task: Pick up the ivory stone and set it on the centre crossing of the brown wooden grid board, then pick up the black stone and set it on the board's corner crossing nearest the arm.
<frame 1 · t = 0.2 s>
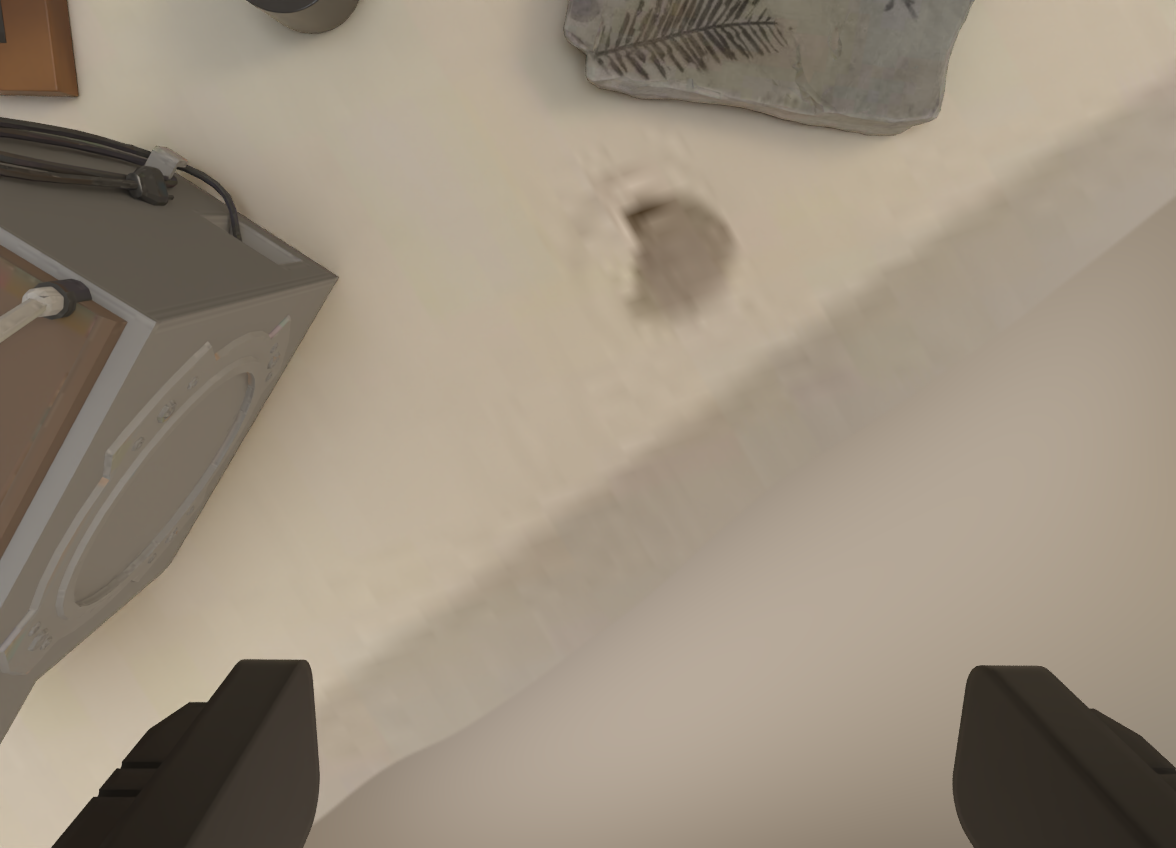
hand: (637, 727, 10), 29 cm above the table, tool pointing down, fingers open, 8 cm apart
portable television: (142, 415, 39), on the table
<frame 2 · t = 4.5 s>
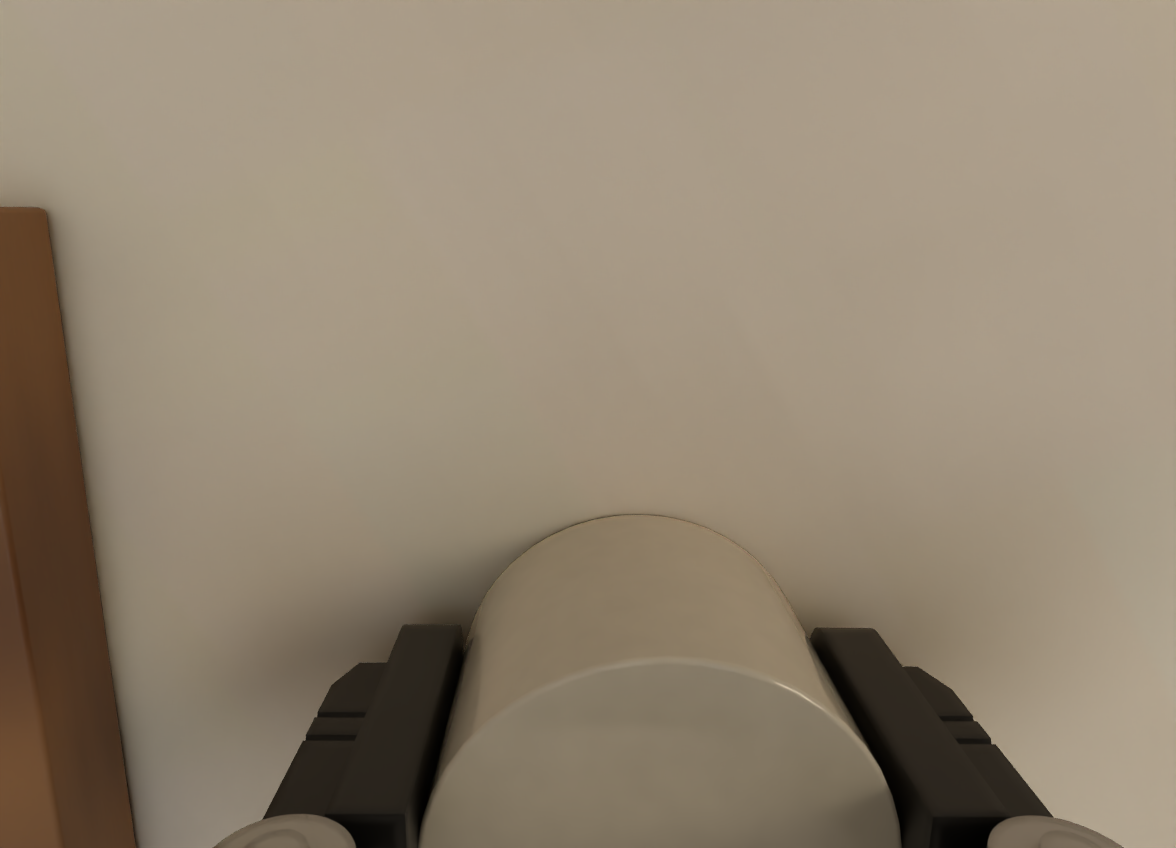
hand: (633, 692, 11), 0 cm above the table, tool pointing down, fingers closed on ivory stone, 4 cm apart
ivory stone: (633, 671, 11), on the table, touching gripper
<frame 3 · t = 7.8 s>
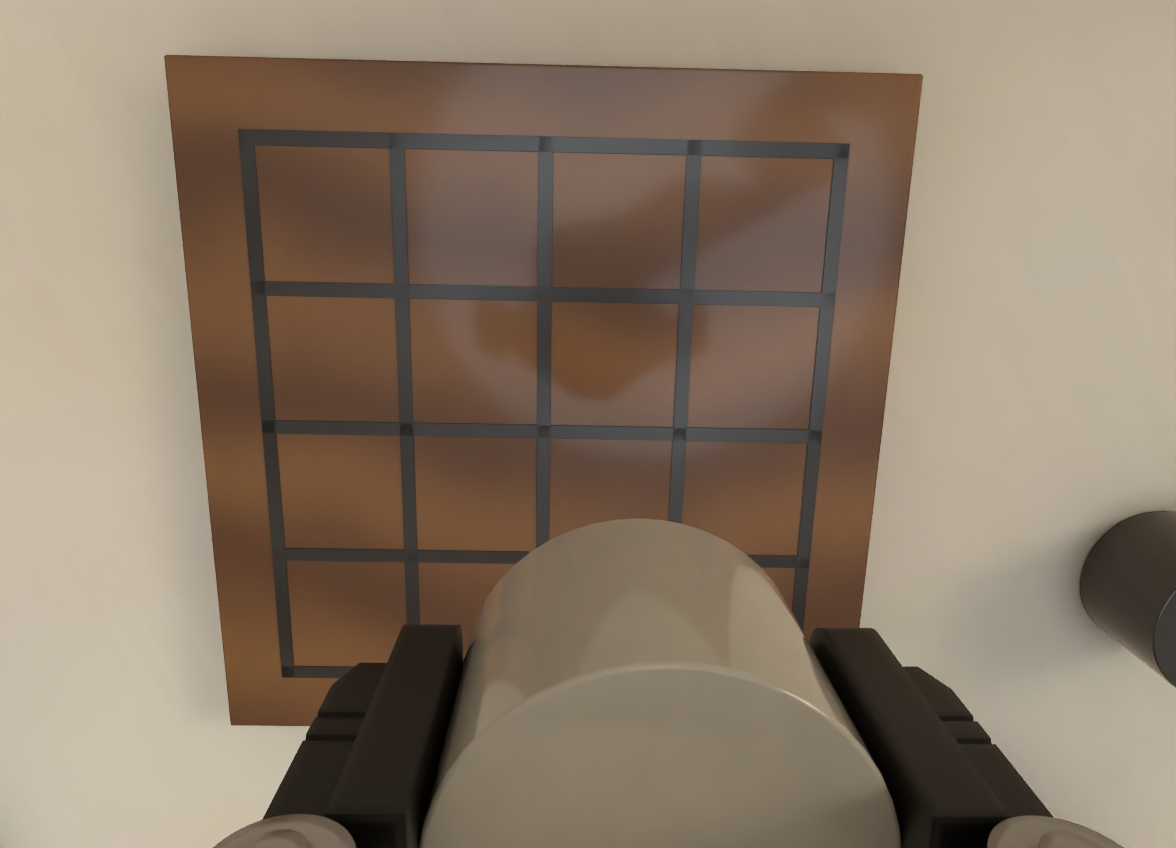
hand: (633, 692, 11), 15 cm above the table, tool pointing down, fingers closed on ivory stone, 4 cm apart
board: (545, 418, 26), on the table
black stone: (1149, 576, 27), on the table
ivory stone: (633, 675, 11), point 15 cm above the table, touching gripper
when the fingers open (2 cm above the table, at t = 11.2 s): ivory stone stays where it is, resting on board.
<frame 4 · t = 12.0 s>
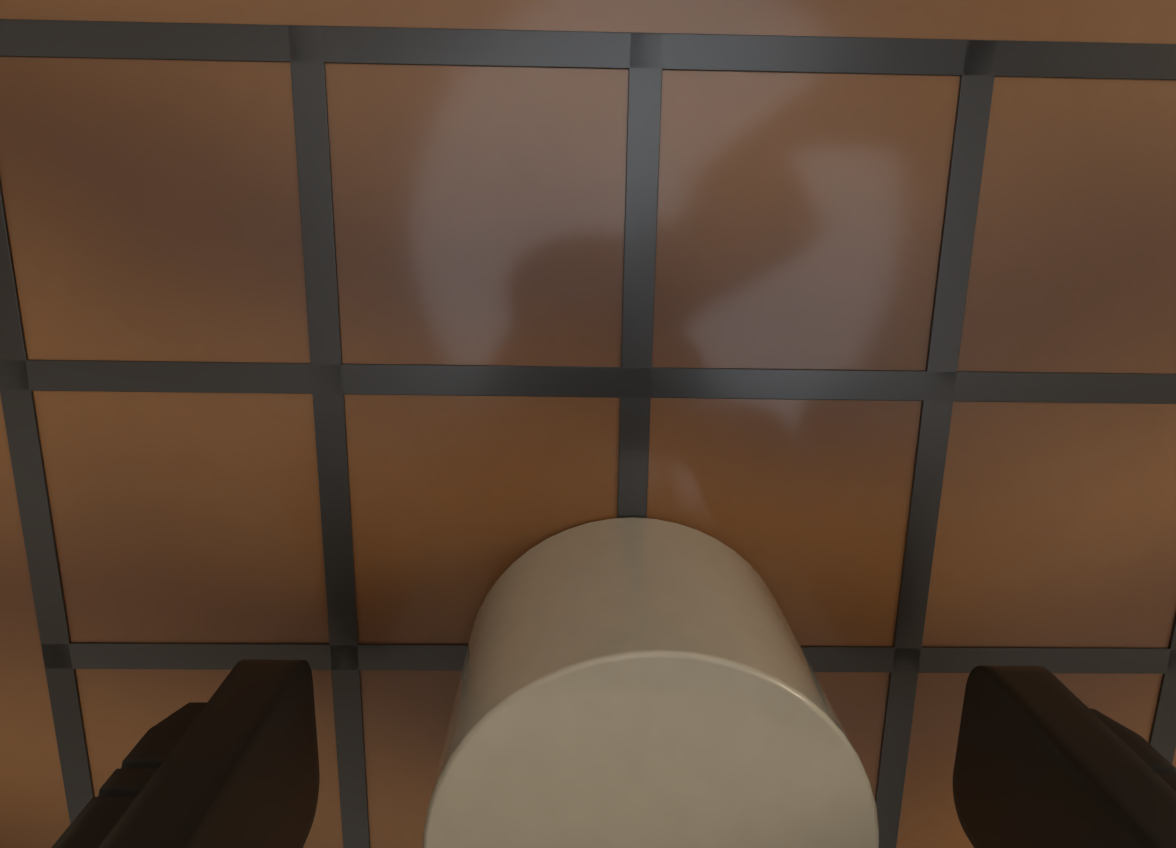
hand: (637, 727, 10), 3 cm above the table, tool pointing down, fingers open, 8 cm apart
board: (621, 608, 13), on the table
ivory stone: (628, 667, 12), point 2 cm above the table, touching board
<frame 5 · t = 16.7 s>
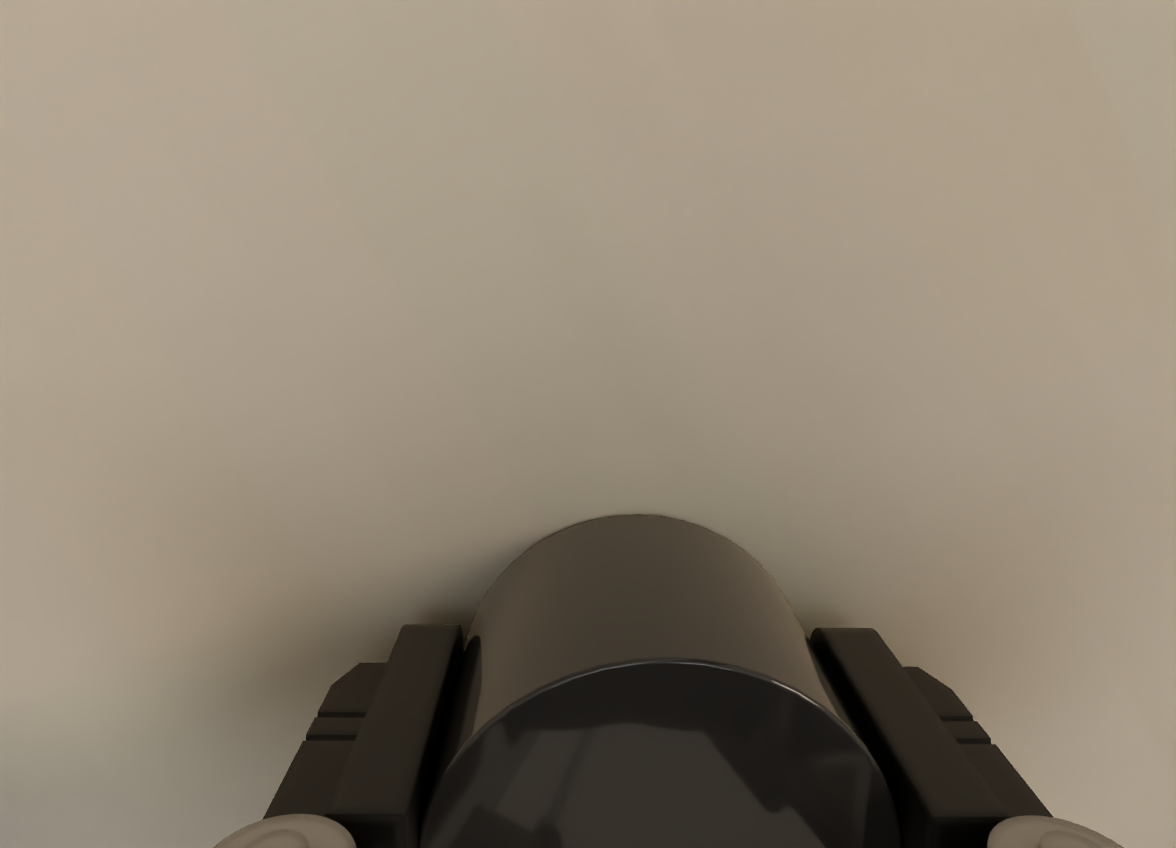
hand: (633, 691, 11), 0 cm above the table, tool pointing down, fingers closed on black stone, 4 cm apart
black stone: (633, 672, 11), on the table, touching gripper
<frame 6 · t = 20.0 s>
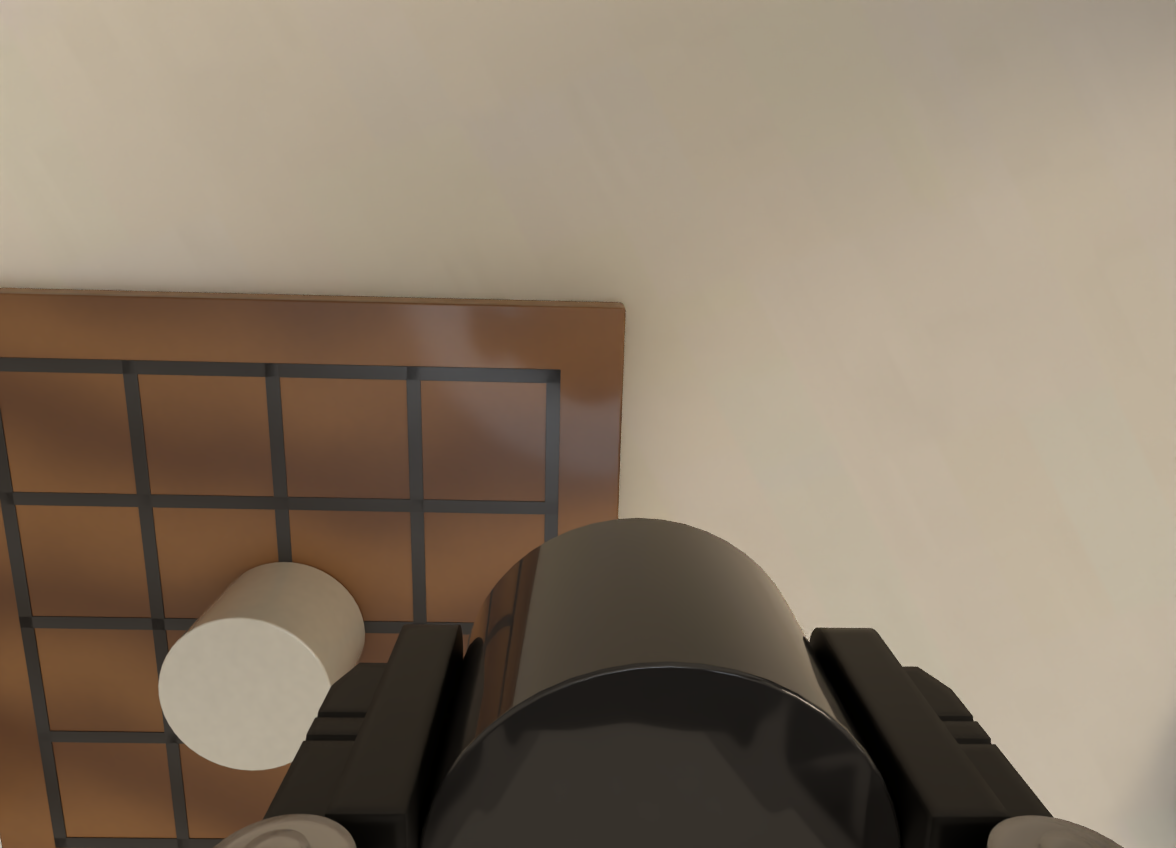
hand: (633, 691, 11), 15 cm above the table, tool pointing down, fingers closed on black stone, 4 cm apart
board: (305, 603, 27), on the table
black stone: (633, 675, 11), point 15 cm above the table, touching gripper
ivory stone: (290, 630, 25), point 2 cm above the table, touching board
when the fingers open (2 cm above the table, at t = 23.5 s): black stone stays where it is, resting on board.
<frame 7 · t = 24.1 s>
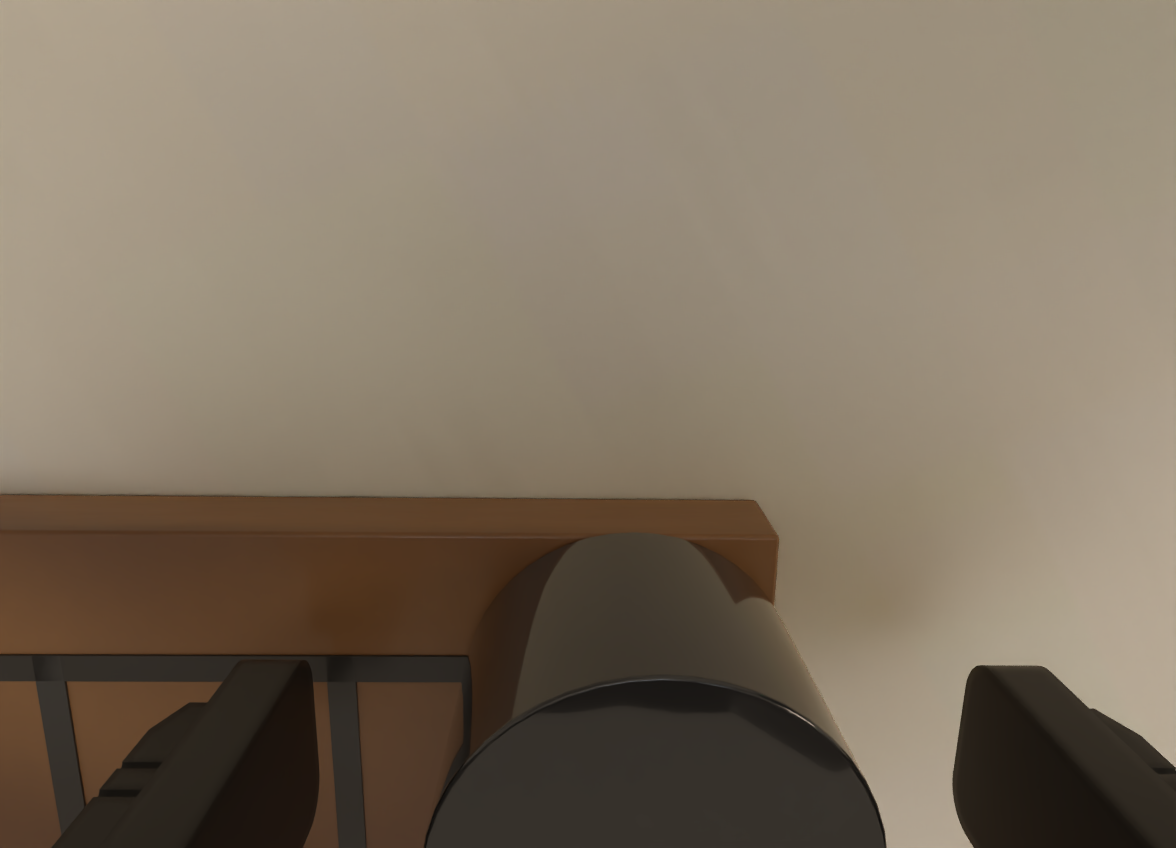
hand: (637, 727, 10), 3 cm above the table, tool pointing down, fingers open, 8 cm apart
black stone: (629, 684, 12), point 2 cm above the table, touching board
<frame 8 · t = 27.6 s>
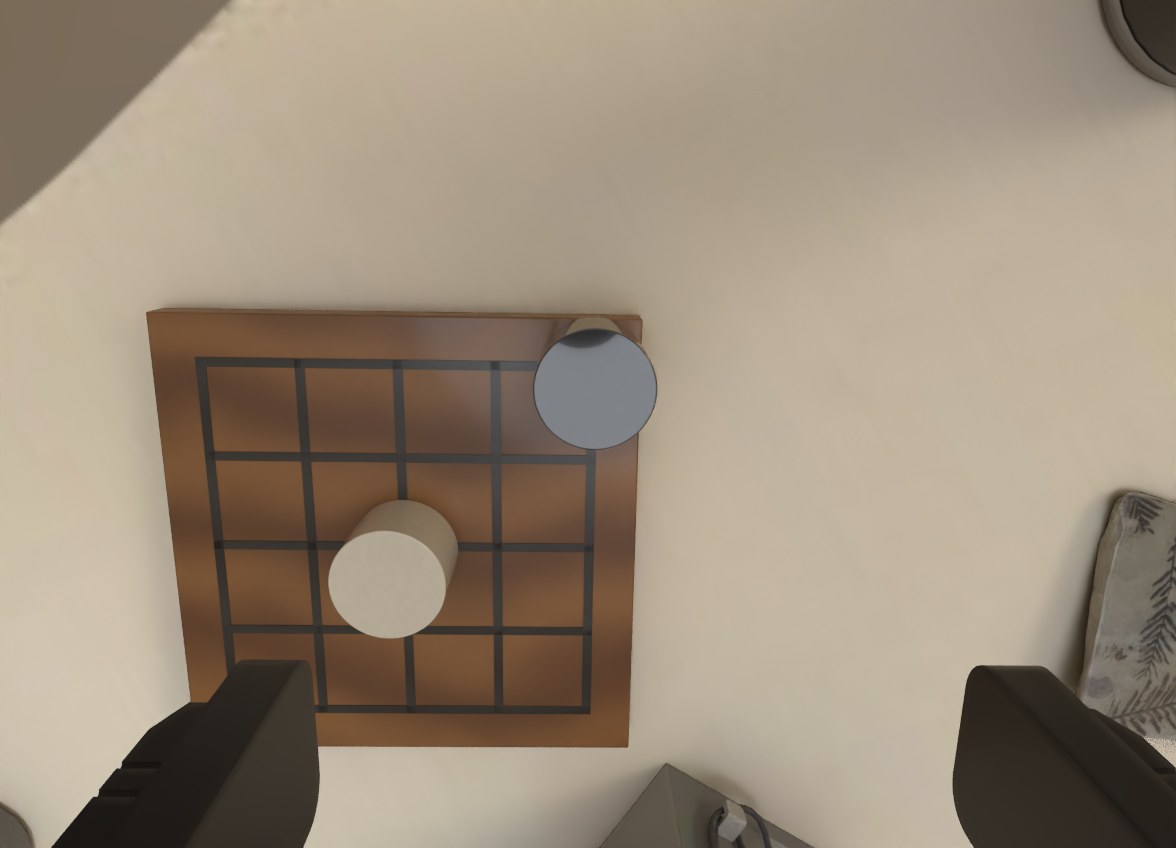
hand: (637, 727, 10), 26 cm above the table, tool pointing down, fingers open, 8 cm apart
board: (411, 533, 37), on the table
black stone: (592, 372, 34), point 2 cm above the table, touching board
ivory stone: (405, 549, 36), point 2 cm above the table, touching board
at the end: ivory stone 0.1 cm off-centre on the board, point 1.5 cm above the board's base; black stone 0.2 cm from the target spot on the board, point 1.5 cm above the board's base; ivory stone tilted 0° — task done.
